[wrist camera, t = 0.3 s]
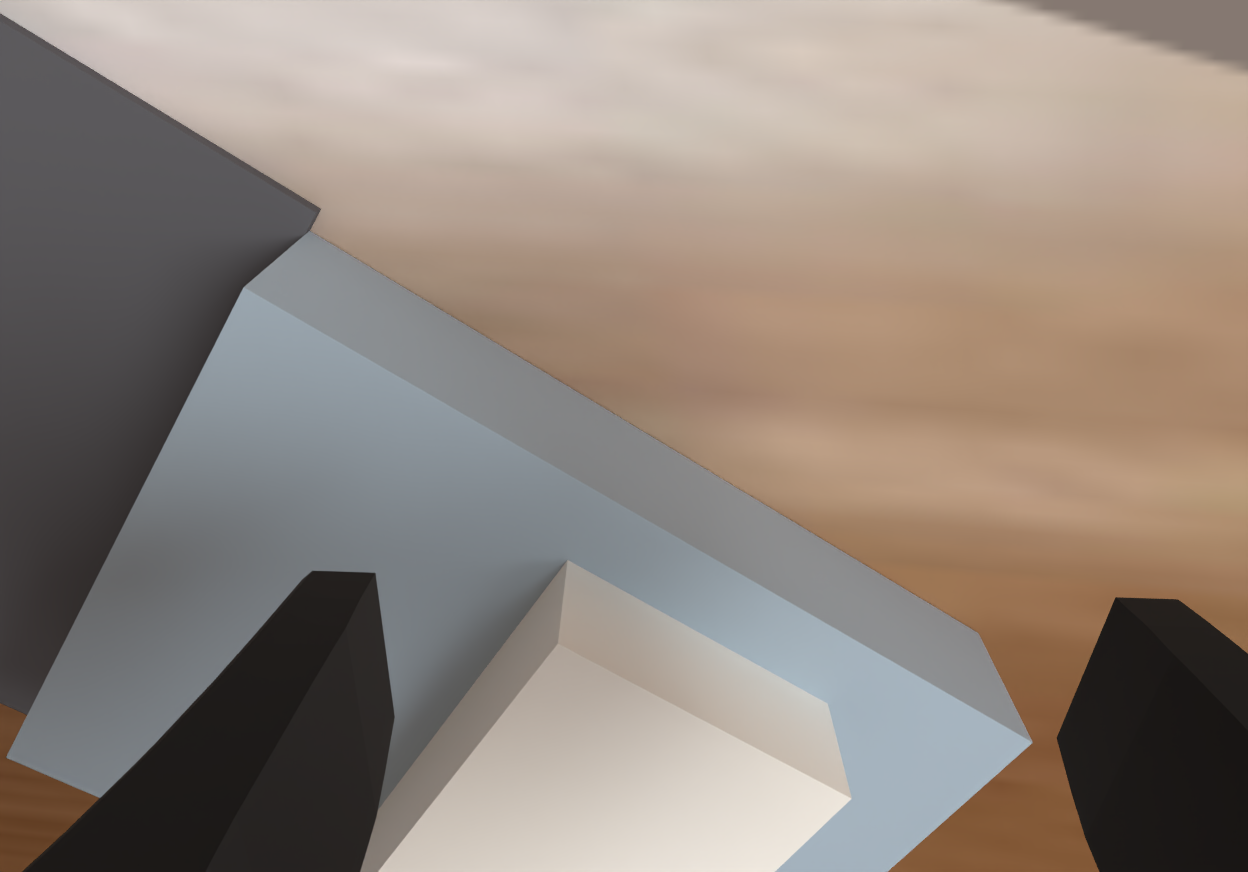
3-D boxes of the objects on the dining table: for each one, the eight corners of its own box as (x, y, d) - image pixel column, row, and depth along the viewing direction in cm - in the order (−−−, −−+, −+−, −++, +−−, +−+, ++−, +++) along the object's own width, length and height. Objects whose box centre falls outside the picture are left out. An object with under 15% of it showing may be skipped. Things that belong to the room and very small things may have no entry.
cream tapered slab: (581, 955, 23) (575, 1061, 20) (346, 851, 21) (314, 953, 19) (827, 703, 19) (851, 798, 17) (567, 560, 18) (557, 643, 16)
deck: (681, 923, 27) (686, 1049, 24) (91, 648, 23) (5, 757, 20) (978, 633, 23) (1032, 742, 20) (309, 230, 19) (243, 287, 16)
